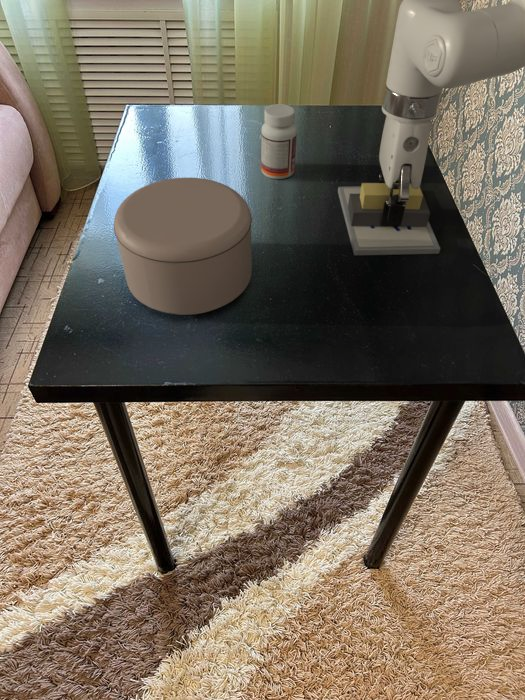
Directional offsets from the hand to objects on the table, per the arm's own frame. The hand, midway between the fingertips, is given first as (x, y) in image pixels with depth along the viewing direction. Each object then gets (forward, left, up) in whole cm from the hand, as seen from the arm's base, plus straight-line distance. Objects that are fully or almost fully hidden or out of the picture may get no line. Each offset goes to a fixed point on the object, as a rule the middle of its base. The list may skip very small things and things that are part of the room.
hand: (387, 212), depth 87 cm
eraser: (0, 0, -1) cm, 1 cm away
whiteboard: (0, 0, -2) cm, 2 cm away
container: (+25, +24, -2) cm, 34 cm away
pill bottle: (+22, -9, -2) cm, 24 cm away
